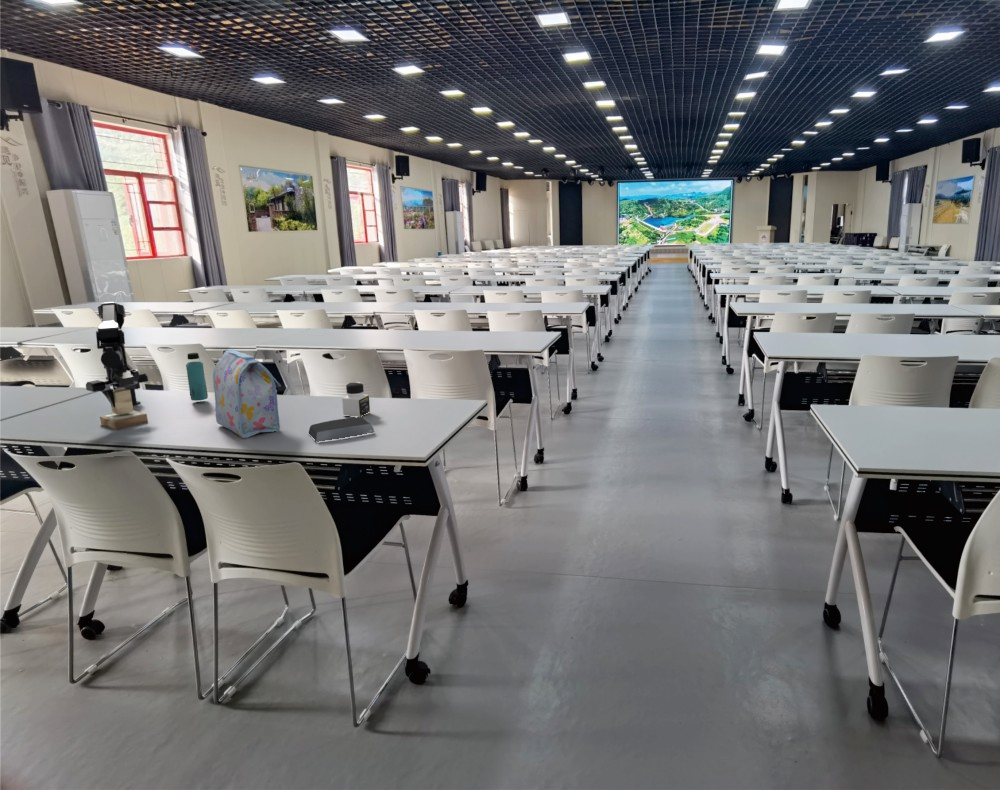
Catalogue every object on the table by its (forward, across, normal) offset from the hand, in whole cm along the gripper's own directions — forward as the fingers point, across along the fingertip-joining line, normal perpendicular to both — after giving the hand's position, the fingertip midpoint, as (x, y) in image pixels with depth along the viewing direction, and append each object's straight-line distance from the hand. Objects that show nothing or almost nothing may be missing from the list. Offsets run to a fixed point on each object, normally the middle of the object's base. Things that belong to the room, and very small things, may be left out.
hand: (121, 405), depth 232 cm
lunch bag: (+7, +21, -45) cm, 50 cm away
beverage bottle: (+7, +31, +4) cm, 32 cm away
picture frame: (+7, 0, 0) cm, 7 cm away
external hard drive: (+7, +34, -77) cm, 84 cm away
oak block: (+2, 0, 0) cm, 3 cm away
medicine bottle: (+7, +52, -64) cm, 83 cm away
